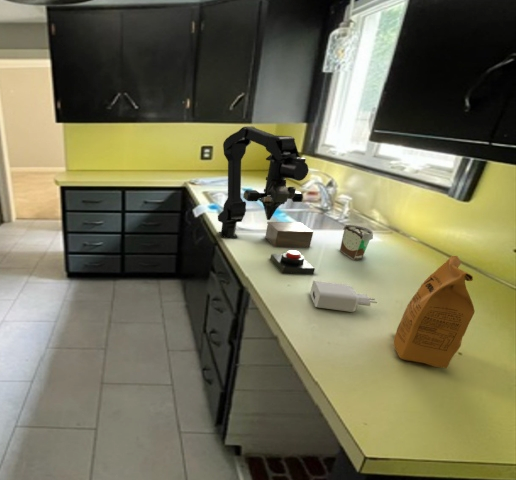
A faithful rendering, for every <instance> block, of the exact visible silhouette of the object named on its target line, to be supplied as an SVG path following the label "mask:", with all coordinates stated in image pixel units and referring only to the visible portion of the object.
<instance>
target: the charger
mask: <svg viewBox="0 0 516 480" xmlns="http://www.w3.org/2000/svg"><path fill="white" fill-rule="evenodd" d="M309 293H310V297H311V300H312V302H313V305H314V307H315V308H319V309H325V310H326V309H327V310H334V311H342V312H348V313H349V312H350V313H353V312H355V311H356V310H357V309H358V306H366V307H371V303H372V304H377V303H378V301H376V299H375V298H372V297H369V296H368V295H367V294H364V293H357V291H355V288H354V287H353V286H351V285H350V284H345V283H336V282H329V281H321V280H313V281H312V284H311V288H310V292H309Z"/></svg>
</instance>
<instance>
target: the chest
mask: <svg viewBox="0 0 516 480" xmlns="http://www.w3.org/2000/svg"><path fill="white" fill-rule="evenodd" d="M264 236H265V239H266V240H267V241H268V242H269V243H270V244H271V245H272V246H273V247H275V248H276V247H277V248H310V247H311V244H312V239H313V236H314V232H313V233H277V232H276V231H275V230H274V229H273V228H272V227H271V226H269V225H268V224H267V226H266V230H265V235H264Z"/></svg>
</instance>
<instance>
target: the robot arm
mask: <svg viewBox="0 0 516 480" xmlns="http://www.w3.org/2000/svg"><path fill="white" fill-rule="evenodd" d="M295 140H296V139H295V138H294V137H293V136H292V135H277V134H276V135H275V134H272V133H269V132H267V131H265V130H262V129H259V128H257V127H255V126H243V127H241V128H240V129H239V130H238V131H236V132H234V133H231V134H230V135H229V136H228V137H227V138H225V140H224V141H223V143H222V148H223V149H222V150H223V155H224V157H225V159H226V160H227V198H226V200H225V202H224V204H223V209H222V211H221V212H220V213H218V215H217V221H218V222H220V223H221V228H220V229H221V230H220V231H218V234H219V236H220V237H221V238H227V239H228V238H229V239H230V238H233V239H236V238H238V235H237V234H236V230H237V223H242V221H243V220H244V217H245V216H246V212H247V202H258V201H259V202H260V203H262V206H263V209H264V214H265V219H266V220H267V221H270V220H272V218H273V216H274V215H275V212H276V211H277V210H278V208H279V207H280V206H281V205H284V204H285V203H287V202H288V200H291V202H293V203H303V200H304V195H303V193H302V192H300V191H298V190H297V188H296V186H287V179H289V180H292V181H297V182H301V181H303V180H304V179H306V178H307V176H308V173H309V170H310V169H309V166H308V164H307V163H306V161H307V159H306V158H305V157H300V152H299V151H298V147H297V145H296V141H295ZM252 142H253V143H256V144H258V145H260V146H262V147H264V148H265V150H266V152H267V153H269V154H270V155H268V156H267V157H266V158H265V161H268V162H269V165H268V170H267V176H266V177H265V181H266V182H265V188H263V192H259V191H257V190H256V189H246V190H245V191H244V192H243V195H242V160H243V158H244V156H245V154H246V151H247V147H248V146H249V145H251V143H252ZM243 199H244V200H243ZM246 201H247V202H246Z"/></svg>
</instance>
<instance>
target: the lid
mask: <svg viewBox="0 0 516 480" xmlns="http://www.w3.org/2000/svg"><path fill="white" fill-rule="evenodd" d="M266 224H267V225H269V226H271V227H272V228H273V229H274V230H275V231H276V232H277V233H313V234H314V231H313V230H312V229H311V228H309V227H308V226H306V225H304V223H302V222H300V221H267V222H266Z"/></svg>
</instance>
